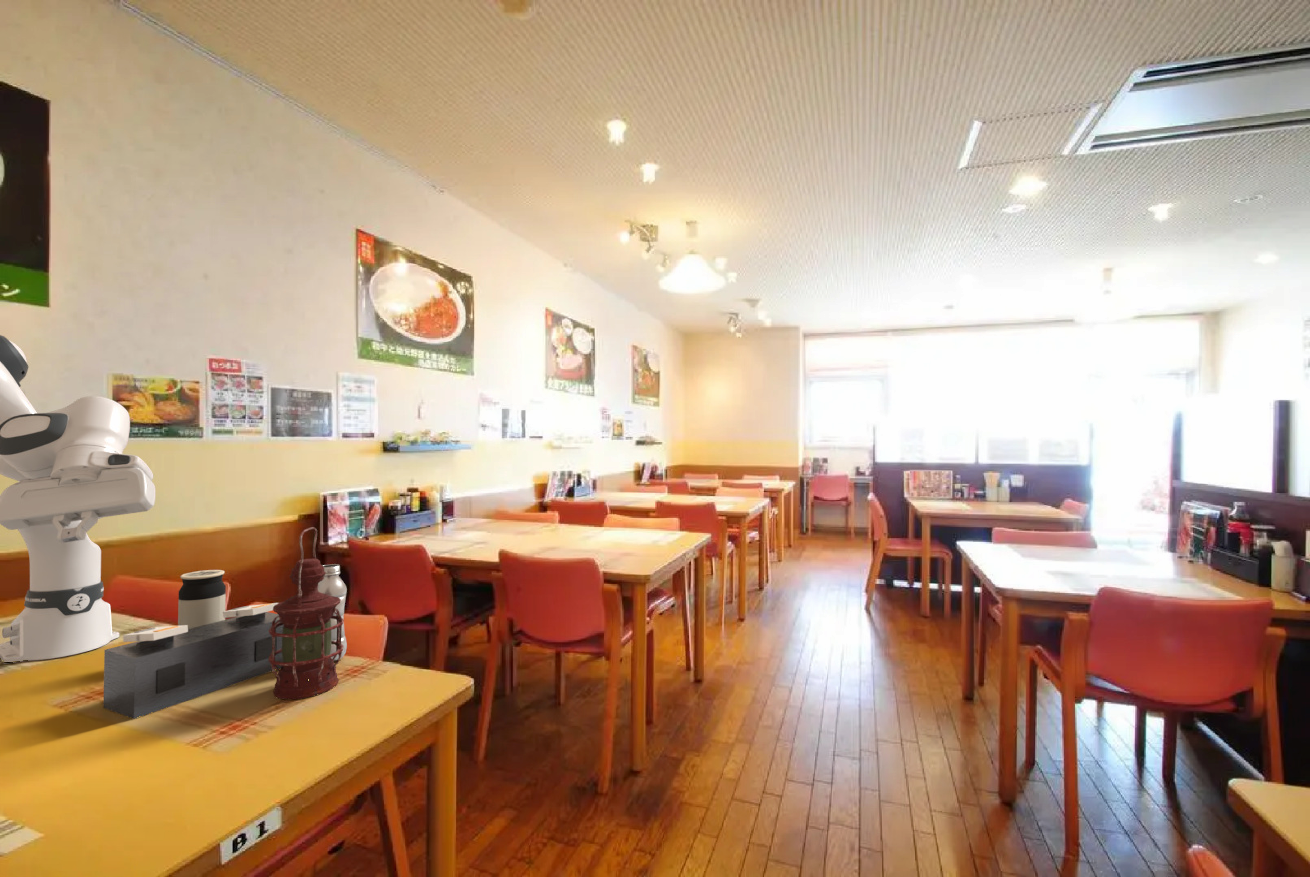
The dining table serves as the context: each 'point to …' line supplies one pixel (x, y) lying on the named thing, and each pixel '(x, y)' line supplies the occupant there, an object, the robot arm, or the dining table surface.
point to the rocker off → (249, 610)
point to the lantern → (306, 634)
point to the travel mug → (201, 598)
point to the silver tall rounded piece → (337, 589)
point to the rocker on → (155, 633)
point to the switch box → (188, 664)
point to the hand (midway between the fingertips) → (70, 540)
